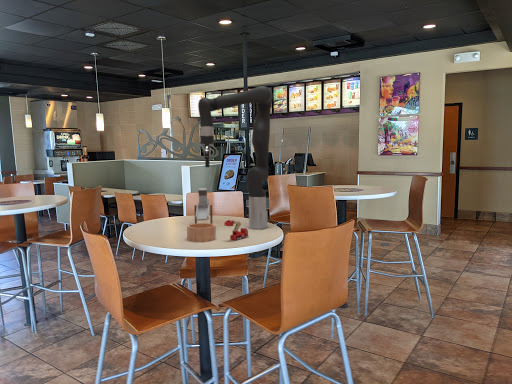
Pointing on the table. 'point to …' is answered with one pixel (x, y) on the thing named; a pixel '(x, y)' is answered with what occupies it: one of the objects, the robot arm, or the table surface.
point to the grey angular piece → (202, 205)
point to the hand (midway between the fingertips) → (207, 167)
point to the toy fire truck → (236, 230)
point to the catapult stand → (210, 214)
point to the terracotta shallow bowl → (201, 232)
